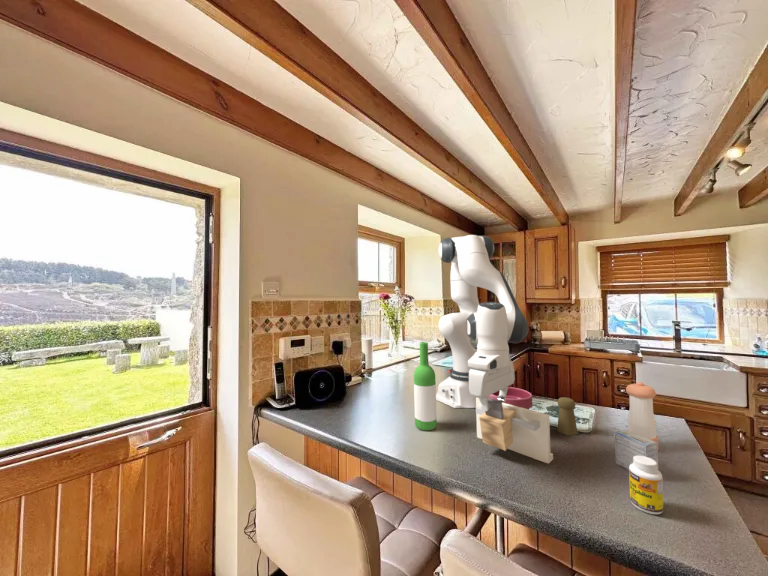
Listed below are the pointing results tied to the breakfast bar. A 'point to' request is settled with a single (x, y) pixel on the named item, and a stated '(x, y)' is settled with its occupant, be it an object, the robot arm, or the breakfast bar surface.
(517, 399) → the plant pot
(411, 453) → the breakfast bar surface
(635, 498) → the supplement bottle
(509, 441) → the oak cabinet block
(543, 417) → the wall board
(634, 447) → the medicine box
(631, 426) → the pepper shaker
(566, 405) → the pepper shaker
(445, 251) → the robot arm
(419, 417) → the wine bottle
